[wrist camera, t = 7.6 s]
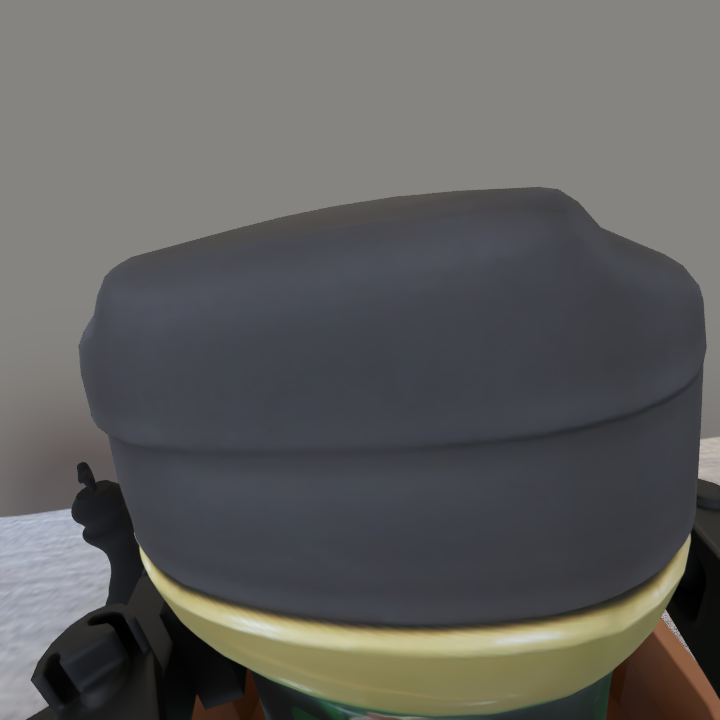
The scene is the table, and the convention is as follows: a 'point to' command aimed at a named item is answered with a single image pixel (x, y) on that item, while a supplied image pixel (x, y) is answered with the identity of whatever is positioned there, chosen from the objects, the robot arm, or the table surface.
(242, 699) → the pot
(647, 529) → the coffee jar
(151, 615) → the robot arm
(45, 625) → the table surface
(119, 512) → the chess piece
